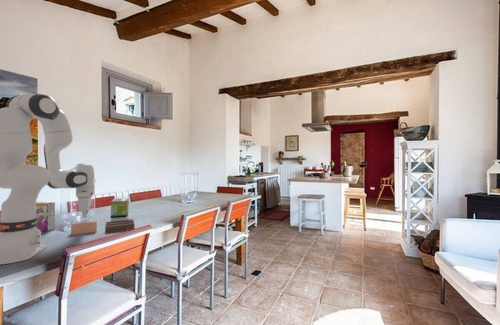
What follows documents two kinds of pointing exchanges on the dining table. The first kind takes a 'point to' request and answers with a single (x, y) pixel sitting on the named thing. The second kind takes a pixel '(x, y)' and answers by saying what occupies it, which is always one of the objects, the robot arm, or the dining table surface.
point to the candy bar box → (45, 215)
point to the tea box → (119, 209)
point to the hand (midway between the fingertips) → (85, 215)
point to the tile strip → (83, 227)
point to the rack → (119, 225)
